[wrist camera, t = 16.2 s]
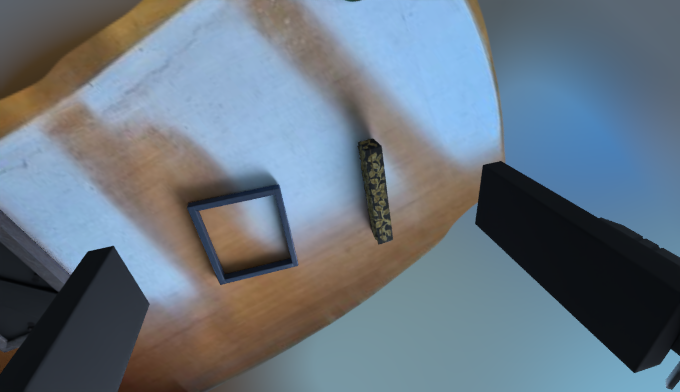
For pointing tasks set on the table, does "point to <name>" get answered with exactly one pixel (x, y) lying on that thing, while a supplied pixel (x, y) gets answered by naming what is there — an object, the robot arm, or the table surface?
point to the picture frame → (24, 283)
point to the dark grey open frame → (235, 198)
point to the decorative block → (375, 189)
